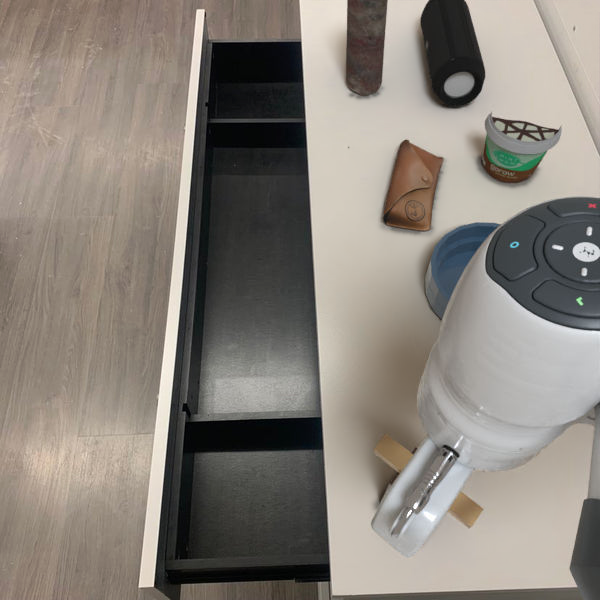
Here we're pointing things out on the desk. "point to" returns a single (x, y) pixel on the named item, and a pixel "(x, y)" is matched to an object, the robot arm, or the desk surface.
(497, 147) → the food container
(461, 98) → the portable speaker
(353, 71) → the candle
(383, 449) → the tan wooden bar
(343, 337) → the desk surface
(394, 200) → the sunglasses case
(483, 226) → the bowl
